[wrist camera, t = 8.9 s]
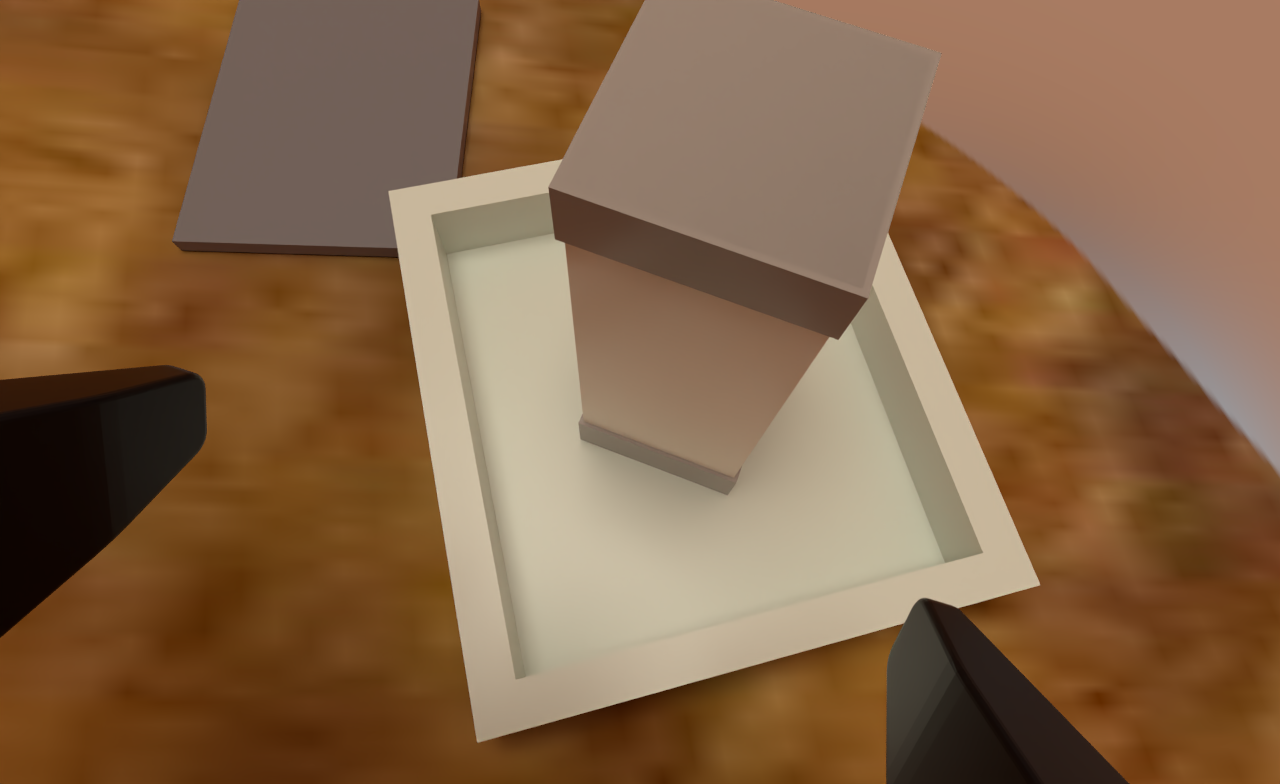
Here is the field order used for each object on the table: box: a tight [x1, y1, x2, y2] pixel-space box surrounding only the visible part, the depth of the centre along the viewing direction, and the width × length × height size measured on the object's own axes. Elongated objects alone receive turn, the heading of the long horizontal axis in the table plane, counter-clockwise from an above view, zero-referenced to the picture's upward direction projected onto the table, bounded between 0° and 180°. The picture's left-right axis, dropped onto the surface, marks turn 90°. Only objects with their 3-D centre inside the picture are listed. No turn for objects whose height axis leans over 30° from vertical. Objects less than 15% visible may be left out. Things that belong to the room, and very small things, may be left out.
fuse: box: [548, 0, 941, 495], centre depth 15 cm, size 4×4×11 cm
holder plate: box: [172, 0, 481, 257], centre depth 23 cm, size 10×8×1 cm
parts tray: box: [388, 160, 1040, 743], centre depth 19 cm, size 14×13×2 cm
